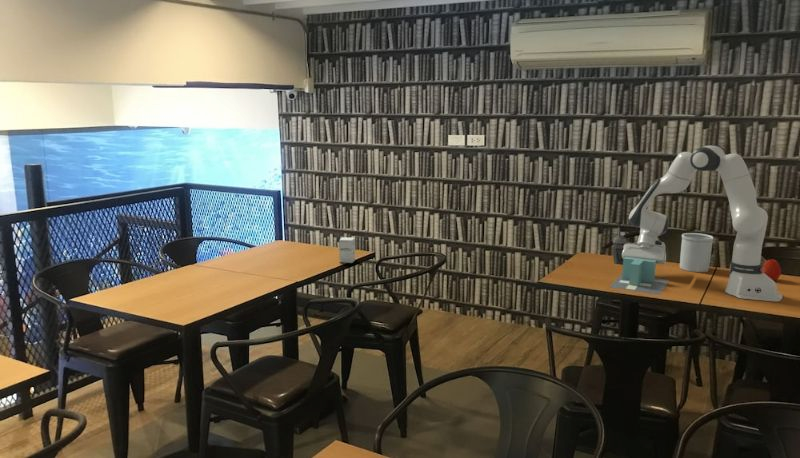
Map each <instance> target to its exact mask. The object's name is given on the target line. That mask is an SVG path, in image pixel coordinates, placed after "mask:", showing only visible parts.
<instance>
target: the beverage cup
mask: <svg viewBox="0 0 800 458" xmlns="http://www.w3.org/2000/svg"><path fill="white" fill-rule="evenodd" d="M617 230H618V231H617V235H616V236H614V238H613V239H612V247H613V250H612V251H613V264H614V265H622V266H623V258H622V252H623V247H624V244H626V243H628V241H627V238H626V237H625V236H624V235H620V227H619V226H618V227H617Z"/></svg>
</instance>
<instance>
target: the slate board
mask: <svg viewBox="0 0 800 458" xmlns="http://www.w3.org/2000/svg"><path fill="white" fill-rule="evenodd" d="M669 282H670V279H664V278H656V277H655V280H654V282H653V283H650V282H643V281H642V282H641V283H640V284H639V285H638V286H635V285H629V280H628V279H622V273H621V274H620V275H619V276H618V277H617V278H616V279H615V280H614V281H613V282H612V283H611V285H609V289H610V288H611V289H617V290H618V289H619V290H625V291H632V292H633V291H634V292H638V293H639V292H640V293H647V294H652V295H661V293H662V292H663V290H664V289H665V288H666V286H667V285H668V283H669Z"/></svg>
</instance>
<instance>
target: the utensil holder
mask: <svg viewBox="0 0 800 458" xmlns="http://www.w3.org/2000/svg"><path fill="white" fill-rule="evenodd" d="M713 241H714V236H713V235H709V234H706V233H697V232H686V233H685V232H684V233H682V234H681V246H680V257H679V258H680V259H679V268H680V269H681V270H684V271H688V272H692V273H693V272H694V273H706V272H708V271H710V270H709V269H710V263H711V257H712V256H711V255H712V249H713Z"/></svg>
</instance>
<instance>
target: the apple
mask: <svg viewBox="0 0 800 458" xmlns="http://www.w3.org/2000/svg"><path fill="white" fill-rule="evenodd" d="M779 263H780V262H778V261H777V260H776V259H773V258H771V259H767V260H765V262H764V263H763V264H762V265H764V267H765V269H766V271H765V272H764V273H765V274H766V275H767V276H768V277H769V278H771V279H772V280H773V281H774V282H775V281H777V280H778V279H779V278H780V277H781V275H782V270H781V266H780V264H779Z"/></svg>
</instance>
